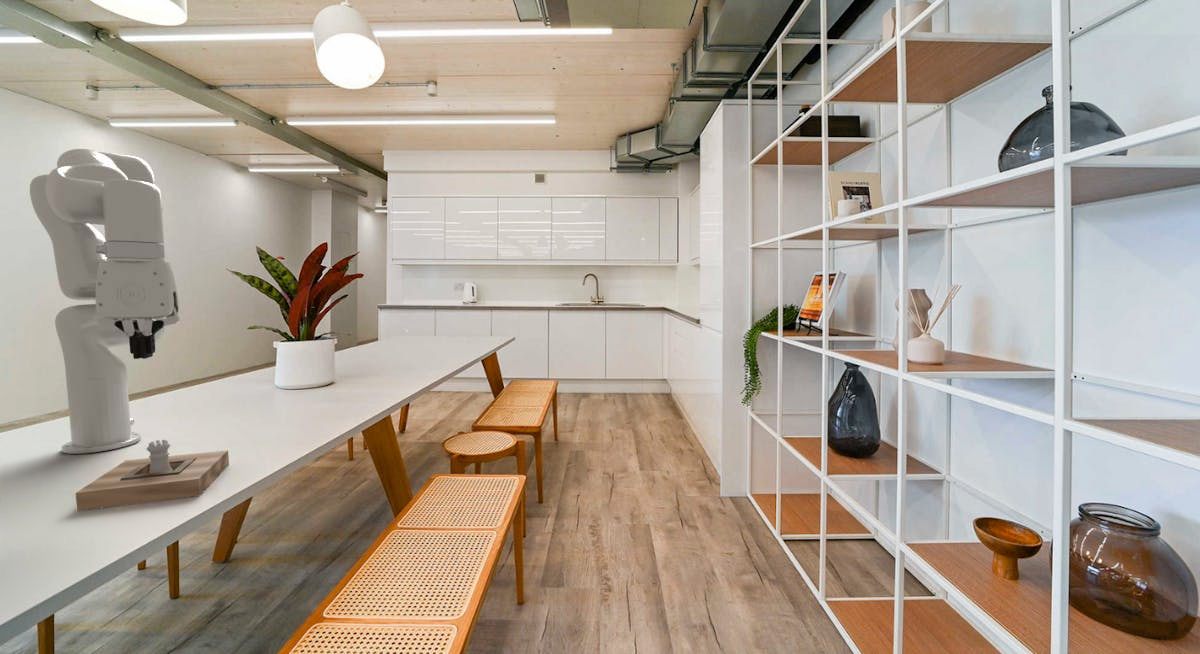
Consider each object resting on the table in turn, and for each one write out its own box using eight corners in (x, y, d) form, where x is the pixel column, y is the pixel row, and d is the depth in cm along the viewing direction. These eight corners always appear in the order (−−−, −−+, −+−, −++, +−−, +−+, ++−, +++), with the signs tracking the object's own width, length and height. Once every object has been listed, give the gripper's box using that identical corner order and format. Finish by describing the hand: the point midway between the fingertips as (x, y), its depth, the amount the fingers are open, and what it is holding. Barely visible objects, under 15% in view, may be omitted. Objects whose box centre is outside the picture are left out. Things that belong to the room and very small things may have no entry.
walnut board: (127, 475, 95) (125, 458, 95) (229, 464, 101) (228, 448, 101) (77, 511, 80) (75, 491, 80) (199, 495, 86) (198, 477, 86)
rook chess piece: (158, 491, 88) (154, 446, 87) (137, 489, 89) (134, 444, 88) (183, 481, 92) (181, 439, 92) (164, 479, 93) (161, 437, 92)
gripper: (66, 250, 81) (75, 363, 83) (181, 254, 87) (187, 359, 89) (92, 253, 88) (99, 356, 90) (196, 255, 94) (202, 353, 96)
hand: (143, 357), depth 89 cm, fingers closed
